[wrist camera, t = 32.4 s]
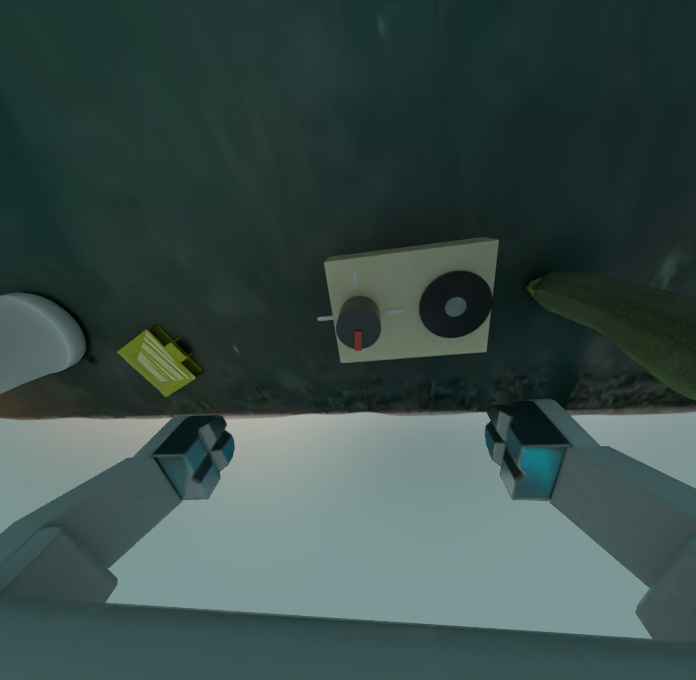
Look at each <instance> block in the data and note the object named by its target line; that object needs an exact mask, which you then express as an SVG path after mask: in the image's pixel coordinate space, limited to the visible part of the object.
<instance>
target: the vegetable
mask: <svg viewBox="0 0 696 680" xmlns="http://www.w3.org/2000/svg"><path fill="white" fill-rule="evenodd" d="M526 287H527V290H528V291H529V292H530V295H531V296H533V297H534V299H535V301H537V302H538V303H539V304H540V305H541V306H542V307H543V308H544V309H546V310H548V311H551V312H553V313H556V314H558V315H561V316H563V317H565V318H568V319H570V320H572V321H575V322H577V323H580V324H582V325H585V326H588V327H590V328H592V329H594V330H596V331H598V332H600V333H601V334H603V335H605V336H607V337H608V338H610V339H611V340H613V342H614V343H615V344H616V345H617V346H618V347H619V348H620V349H621V350H623V351H624V352H625V353H626V354H627V355H628V356H629V357H631V358H632V359H633V360H634V361H636V362H637V363H638V364H640V365H641V366H642V367H644V368H645V369H646V370H647V371H649V372H650V373H651V374H652V375H654V376H655V377H656V378H658V379H659V380H660V381H662V382H663V383H664V384H666V385H667V386H668V387H670V388H671V389H673V390H675V391H676V392H678V393H680V394H682V395H684V396H686V397H688V398H691V399H694V400H696V298H695V297H688V296H683V295H679V294H675V293H672V292H669V291H665V290H660V289H656V288H651V287H646V286H641V285H636V284H632V283H628V282H624V281H620V280H616V279H613V278H609V277H606V276H602V275H596V274H591V273H576V272H553V273H550V274H547V275H545V276H543V277H542V278H537V279H536V280H533V281H531V282H529V286H526Z"/></svg>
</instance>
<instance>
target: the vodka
mask: <svg viewBox="0 0 696 680" xmlns="http://www.w3.org/2000/svg"><path fill="white" fill-rule="evenodd" d="M85 351H86V340H85V337H84V334H83V332H82V330H81V328H80V326H79V324H78V323H77V322H76V320H75V319H74V318H73V317H72V316H71V315H70V314H69V313H68V312H67V311H66V310H64V309H63V308H62V307H60V306H59V305H58V304H56V303H54V302H53V301H51V300H49V299H47V298H45V297H42V296H39V295H35V294H29V293H10V294H5V295H1V296H0V394H1V393H4V392H6V391H8V390H10V389H12V388H15V387H17V386H19V385H21V384H24V383H26V382H29V381H31V380H34V379H37V378H39V377H42V376H44V375H47V374H50V373H55V372H59V371H62V370H64V369H66V368H68V367H70V366H72V365H74V364H76V363H77V362H78V361H79V360H80V359H81V358H82V357H83V355H84V353H85Z"/></svg>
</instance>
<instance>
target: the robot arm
mask: <svg viewBox="0 0 696 680" xmlns="http://www.w3.org/2000/svg"><path fill="white" fill-rule="evenodd" d="M487 414H488V416H489V418H490V420H491V421H490V422H489V423H488V424H487V425H486V428H485V439H486V445H487V448H488V451H489V454H490V456H491V458H492V460H493V461H494V462H496V463H497V464H498V465H500V466H501V472H500V476H501V478H502V480H503V482H504V484H505V486H506V488H507V490H508V492H509V494H510V496H511V498H512V499H513V500H542V501H544V500H545V501H550V503H551V504H552V505H553V506H554V507H556V508H557V509H558V510H559V511H560V512H561V513H563V514H564V515H565V516H566V517H567V518H568V519H570V520H571V521H572V522H573V523H574V524H575V525H577V526H578V527H579V528H580V529H581V530H582V531H584V532H585V533H586V534H587V535H588V536H590V537H591V538H592V539H593V540H594V541H595V542H596V543H598V544H599V545H600V546H601V547H602V548H603V549H605V550H606V551H607V552H608V553H609V554H610V555H612V556H613V557H614V558H615V559H616V560H617V561H619V562H620V563H621V564H622V565H623V566H624V567H626V568H627V569H628V570H629V571H630V572H631V573H633V574H634V575H635V576H636V577H637V578H638V579H640V580H641V581H642V582H643V583H644V584H645V585H647V586H648V587H649V588H650V589H649V590H648V591H647V593H646V594H645V596H644V597H643V598H642V600H641V601H640V602H639V604H638V606H637V610H636V614H637V616H638V617H639V619H640V620H641V621H642V623H643V625H644V626H645V628H646V629H647V631H648V633H649V634H650V636H651V637H652V639H644V638H629V637H614V636H599V635H583V634H568V633H554V632H539V631H524V630H509V629H508V630H507V629H494V628H479V627H463V626H448V625H434V624H418V623H404V622H389V621H374V620H358V619H343V618H329V617H313V616H298V615H284V614H268V613H267V614H266V613H253V612H238V611H223V610H208V609H207V610H206V609H193V608H178V607H162V606H148V605H147V606H146V605H133V604H117V603H105V602H106V600H107V599H108V598H109V596H110V595H111V593H112V592H113V590H114V589H115V587H116V586H117V578H116V577H115V576H114V575H113V574H112V573H111V572H110V571H109V570H108V568H110V567H111V566H112V565H113V564H114V563H115V562H116V561H117V560H118V559H119V558H120V557H122V556H123V555H124V554H125V553H126V552H127V551H128V550H129V549H130V548H131V547H133V546H134V545H135V544H136V543H137V542H138V541H139V540H140V539H141V538H142V537H144V536H145V535H146V534H147V533H148V532H149V531H150V530H151V529H152V528H153V527H155V526H156V525H157V524H158V523H159V522H160V521H161V520H162V519H163V518H164V517H165V516H167V515H168V514H169V513H170V512H171V511H172V510H173V509H174V508H175V507H177V506H178V505H179V504H180V503H181V502H182V501H181V500H198V499H209V497H210V495H211V494H212V492H213V490H214V489H215V487H216V485H217V483H218V482H219V480H220V471H221V470H223V469H224V468H225V467H226V466H228V464H229V463H230V461H231V459H232V457H233V453H234V448H235V447H234V440H233V437H232V435H231V434H230V433H228V432H227V431H226V430H225V428H226V426H227V424H226V422H225V420H224V418H223V417H222V416H219V415H210V416H178V417H175V418H172V419H171V420H170V421H169V422H168V423H167V424H166V425H165V426H164V427H163V428H162V429H161V430H160V431H159V432H158V433H157V434H156V435H155V436H154V437H153V438H152V439H151V440H150V441H149V442H148V443H147V444H146V445H145V446H144V447H143V448H142V449H141V450H140V451H139V452H138V453H137V454H136V455H135V456H134V457H133V458H127V459H125V460H124V461H122V462H120V463H118V464H116V465H115V466H113V467H111V468H109V469H107V470H106V471H104V472H102V473H100V474H99V475H97V476H95V477H93V478H92V479H90V480H88V481H86V482H84V483H83V484H81V485H79V486H77V487H76V488H74V489H72V490H71V491H69V492H67V493H65V494H63V495H62V496H60V497H58V498H56V499H55V500H53V501H51V502H50V503H48V504H46V505H44V506H42V507H41V508H39V509H37V510H35V511H34V512H32V513H30V514H28V515H27V516H25V517H23V518H21V519H20V520H18V521H16V522H14V523H13V524H12V525H11V526H9V527H8V528H7V529H6V530H5V531H4V532H2V533H1V534H0V680H696V489H695V488H693V487H691V486H689V485H687V484H685V483H683V482H680V481H678V480H676V479H674V478H672V477H670V476H668V475H666V474H664V473H662V472H660V471H658V470H656V469H654V468H652V467H650V466H647V465H646V464H643V463H642V462H639V461H637V460H635V459H633V458H631V457H629V456H627V455H625V454H623V453H621V452H619V451H617V450H615V449H613V448H611V447H609V446H607V447H606V446H600V445H599V444H598V443H597V442H596V441H595V440H594V439H593V438H592V437H591V436H590V435H589V434H588V433H587V432H586V431H585V430H584V429H583V428H582V427H581V426H580V425H579V424H578V423H577V422H576V421H575V420H574V419H573V418H572V417H571V416H570V415H569V414H568V413H567V412H566V411H565V410H564V409H563V408H562V407H561V406H560V405H559V404H558V403H557V402H556V401H554V400H552V399H537V400H529V401H508V402H490V404H489V406H488V411H487Z"/></svg>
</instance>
